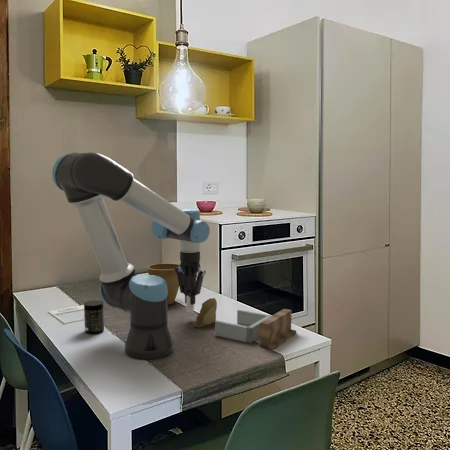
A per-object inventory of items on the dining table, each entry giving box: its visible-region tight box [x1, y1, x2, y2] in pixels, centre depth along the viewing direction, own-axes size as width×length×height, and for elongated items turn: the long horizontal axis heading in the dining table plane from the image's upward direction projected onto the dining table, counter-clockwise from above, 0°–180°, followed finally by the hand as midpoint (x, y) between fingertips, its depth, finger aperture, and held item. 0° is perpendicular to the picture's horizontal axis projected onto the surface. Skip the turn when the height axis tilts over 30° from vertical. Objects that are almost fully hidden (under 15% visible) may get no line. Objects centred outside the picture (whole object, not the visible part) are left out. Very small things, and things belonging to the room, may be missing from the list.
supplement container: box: [83, 299, 105, 335], centre depth 166 cm, size 7×7×10 cm
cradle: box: [214, 309, 272, 344], centre depth 167 cm, size 16×14×5 cm
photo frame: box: [47, 304, 84, 325], centre depth 186 cm, size 15×1×18 cm
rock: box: [193, 297, 218, 329], centre depth 176 cm, size 11×9×10 cm
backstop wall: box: [259, 308, 297, 350], centre depth 160 cm, size 18×5×8 cm, turn 148°
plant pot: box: [146, 262, 180, 305], centre depth 203 cm, size 15×15×16 cm
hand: (190, 312), depth 179 cm, fingers closed
